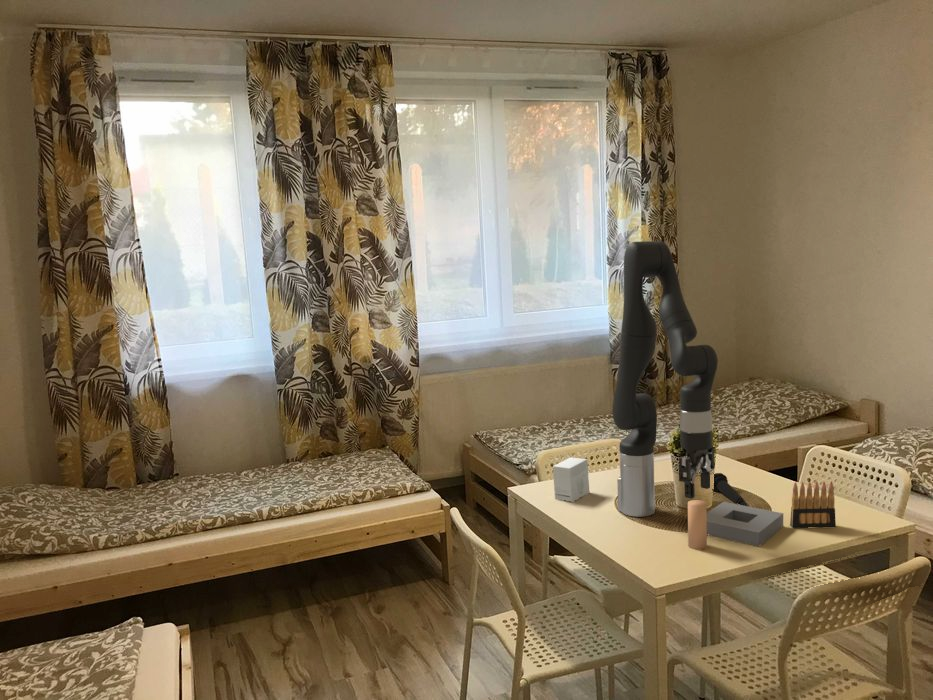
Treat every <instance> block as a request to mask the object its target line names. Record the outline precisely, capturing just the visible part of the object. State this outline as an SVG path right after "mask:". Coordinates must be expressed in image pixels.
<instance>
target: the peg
mask: <svg viewBox="0 0 933 700" xmlns="http://www.w3.org/2000/svg"><path fill="white" fill-rule="evenodd" d="M707 512H708V511H707V502H706V501H704V500H700V499H699V500H698V499H693V500H692V499H691V500H689V501H688V502H687V538H688V539H687V540H688V541H687V542H688V548H690V549H693V550H698V549H701V550H705V549H706V547H707V548H708V542H707V541H708V535H707Z"/></svg>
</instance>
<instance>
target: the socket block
mask: <svg viewBox="0 0 933 700" xmlns="http://www.w3.org/2000/svg"><path fill="white" fill-rule="evenodd" d="M783 527H784V513H783V512H778V511H773V510H768V509H764V508H763V509H762V508H757V507H753V506H748V505H747V506H743V505H738V504H736V503H733V502H731V503H730V502H726V501H723V502H721V503H720V504H718V505H716V506H715V507H713V508H712V509H711V510H709V511H707V534H709V535H708V536H711V535H712V536H711V537H715V536H716V537H717V538H721V539H723V540H729V541H734V542H738V543H742V544H746V545H751V546H755V547H760V546H761V545H762V544H763V543H765V542H766V541H767V540H768V539H770V538H771V537H772V536H773V535H775V534H776V533H777V532H778V531H780V530H781V529H782V528H783Z"/></svg>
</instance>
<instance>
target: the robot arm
mask: <svg viewBox="0 0 933 700" xmlns="http://www.w3.org/2000/svg"><path fill="white" fill-rule="evenodd" d="M623 256H624V257H623V308H622V309H623V311H622V323H621V332H620V344H619V345H620V347H619V348H620V349H619V361H618V370H617V379H616V383H615V388H614V389H615V390H614V394H613V400H612V401H613V402H612V407H611V409H612V410H611V411H612V412H611V413H612V414H611V415H612V419H613V422H614V424H615V426H616V428H618V429H619V430H621V431H629V430H630V432H629V434H628V435H626V436H625V437H624V438H623V439H621V440H620V442H619V471H620V472H619V474H620V475H619V476H618V478H617V480H616V481H617V482H616V483H617V511H618V512H620V513H622V514H624V515H626V516H629V517H637V518H639V517H642V518H643V517H649V516H651V515H653V514H655V512H656V510H655V509H656V504H655V503H656V502H655V500H656V499H655V497H656V496H655V491H656V490H655V458H654V457H655V456H654V455H655V454H654V452H655V451H654V450H655V449H654V447H655V444H656V443H657V442H656V441H657V428H658V427H657V425H658V423H657V422H658V420H657V419H658V414H657V413H658V411H657V405H656V403H655V400H654V399H653V397H652V395H650V394H647V393H637V390H638V386H639V383H640V379H641V377H642V376H643V373H644V372H645V370H646V369H647V367H648V366H649V364H650V362H651V360H652V358H653V356H654V354H655V352H656V346H657V345H656V344H657V334H658V333H657V331H658V328H657V323H656V320H655V317H654V316H653V314H652V312H651V311H650V309H649V307H648V305H647V303H646V300H645V298H644V293H643V292H644V289H643V284H644V283H643V281H644V278H656V277H657V279H658V280H659V282H660V284H661V287H662V292H661V293H662V294H661V298H660V303H659V307H658V315H659V320H660V323H661V325H662V326H663V330H664V332H665V333H666V336H667V338H668V339H667V340H668V344H669V345H668V346H669V352H670V361H671V367H672V369H673V370H674V372H675V373H676V374H677V375H679V376H681V377H692V376H695V377H694V379H693V380H692V381H691V382H690V383H688V384H686V385H683V386H681V387H680V391H679V399H680V401H679V402H680V403H679V404H680V412H679V414H680V415H679V435H680V436H679V437H680V440H679V441H680V442H679V444H680V447H681V448H682V449H684V450H685V451H686V452H685V456H679V457H678V458H679V459H678V481H679V482H682V483H684V497H685V498H687V499H694V498H695V497H696V495H695V494H696V493H695V491H696V490H695V479H696V476H699V473H700V488H701V489H705V490H706V489H707V490H708V489H711V488H710V476H711V474H712V472H713V470H715V466H716V465H715V447H714V444H713V443H714V440H713V439H714V438H713V437H714V436H713V434H714V433H713V415H712V408H711V407H712V404H711V403H712V402H711V400H712V399H711V397H712V396H711V393H712V389H713V385H714V380H715V377H716V372H717V370H718V364H719V363H718V359H719V358H718V356H717V352H716V351H715V349H714V348H713V347H712V346H711V345H709V344H699V345H698V344H697V345H690V346H687V344H688V343H690V342H692V341H693V340H695V339H696V337H697V335H698V329H697V327H696V325H695V323H694V321H693V318H692V316H691V314H690V311H689V310H688V308H687V305H686V303H685V299H684V296H683V292H682V288H681V284H680V281H679V276H678V272H677V268H676V266H675V262H674V257H673V255H672V252H671V250H670V248H669V245H667V244H666V243H665V242H664V241H659V240H650V241H632V242H630V243H629V244H628V245H627V246H626V248H625V252H624V255H623Z"/></svg>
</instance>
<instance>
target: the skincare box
mask: <svg viewBox="0 0 933 700" xmlns="http://www.w3.org/2000/svg"><path fill="white" fill-rule="evenodd" d="M588 460H589V459H587V458H579V457H572V456H571V457H568V458H566V459H564V460H562V461H560V462H559V463H556V464H555V465H553V466H552V469H553V470H552V471H553V472H552V473H553V486H554V487H553V488H554V489H553V491H554V499H555V500H557V499H560V500H559V501H563V500H566V501H565V502H568V501H571V502H570V503H574V502H576V501H578V500H579V499H581V498H582V497H584V496H585V495H588V494H589V493H590V480H589V465H588V463H589V462H588ZM580 497H581V498H580ZM575 500H576V501H575ZM573 501H574V502H573Z"/></svg>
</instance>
